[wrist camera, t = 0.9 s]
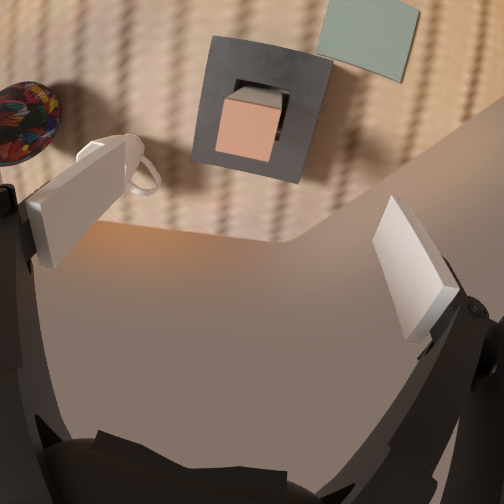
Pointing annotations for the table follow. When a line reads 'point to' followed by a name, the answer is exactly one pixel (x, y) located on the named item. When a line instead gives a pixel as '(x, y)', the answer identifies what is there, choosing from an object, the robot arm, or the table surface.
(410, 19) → the mat
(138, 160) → the cup
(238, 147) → the plug
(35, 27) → the table surface
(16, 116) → the egg
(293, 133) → the grey square holder
